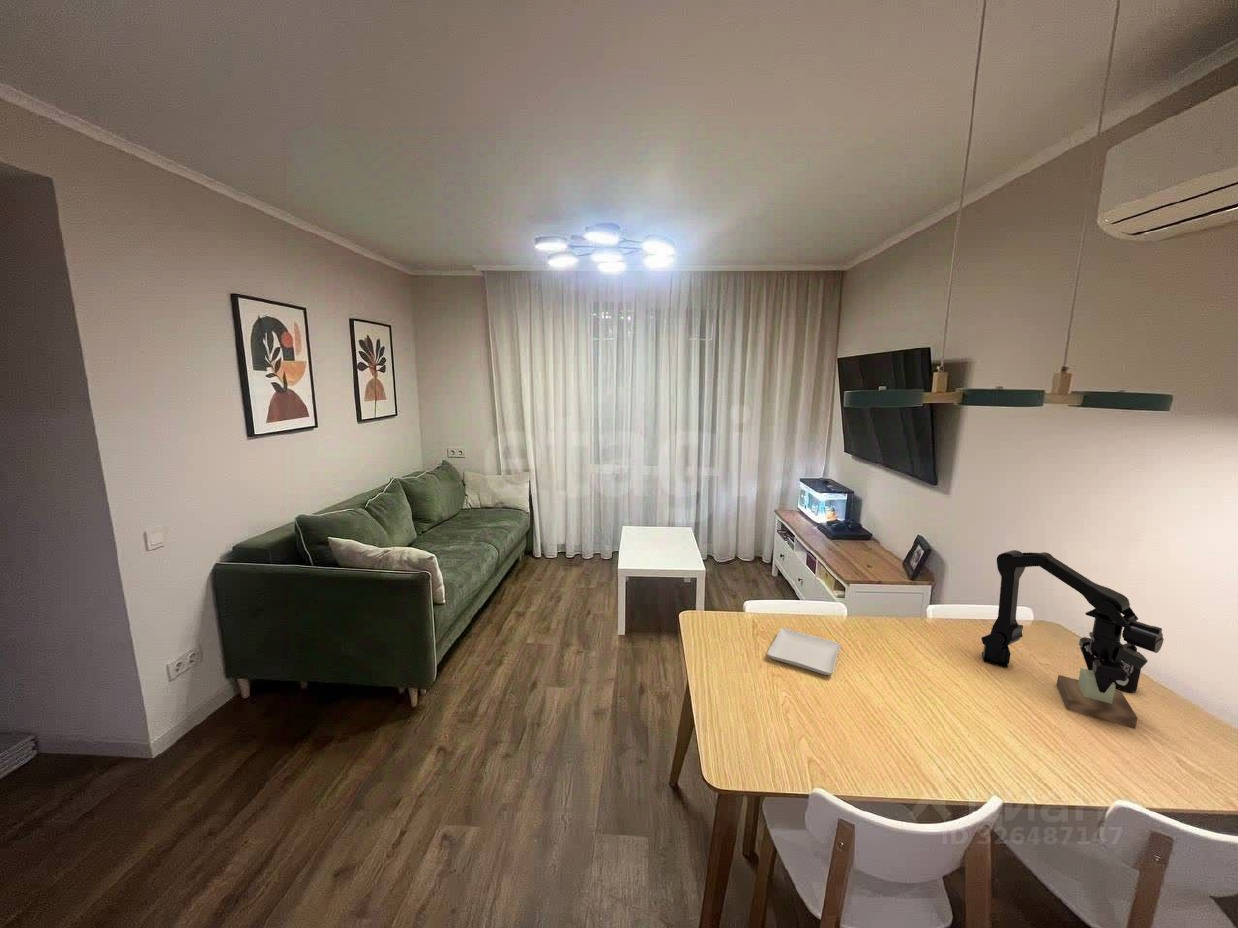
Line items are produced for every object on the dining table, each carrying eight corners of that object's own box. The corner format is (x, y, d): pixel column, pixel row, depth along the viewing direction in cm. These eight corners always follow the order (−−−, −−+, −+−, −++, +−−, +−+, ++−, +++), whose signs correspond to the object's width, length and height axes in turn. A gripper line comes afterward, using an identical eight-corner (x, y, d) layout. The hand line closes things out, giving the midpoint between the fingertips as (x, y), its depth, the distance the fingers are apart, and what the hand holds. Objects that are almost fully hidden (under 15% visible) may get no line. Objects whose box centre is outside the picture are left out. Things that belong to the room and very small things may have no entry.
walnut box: (1066, 711, 137) (1068, 698, 137) (1056, 686, 149) (1058, 674, 148) (1134, 730, 130) (1137, 717, 129) (1118, 702, 141) (1120, 690, 141)
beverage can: (1142, 694, 144) (1149, 658, 142) (1117, 691, 145) (1124, 656, 143) (1124, 681, 150) (1131, 647, 148) (1100, 678, 152) (1106, 644, 150)
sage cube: (1083, 696, 138) (1087, 678, 137) (1077, 685, 143) (1080, 667, 142) (1112, 703, 135) (1115, 684, 134) (1104, 692, 140) (1108, 674, 139)
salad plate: (832, 682, 150) (833, 672, 150) (765, 662, 161) (766, 653, 161) (840, 651, 168) (841, 642, 168) (780, 634, 179) (780, 626, 179)
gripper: (1159, 659, 123) (1148, 712, 126) (1134, 629, 139) (1124, 676, 141) (1101, 646, 129) (1091, 697, 132) (1082, 618, 145) (1074, 664, 147)
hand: (1097, 683), depth 138 cm, fingers open, 9 cm apart
